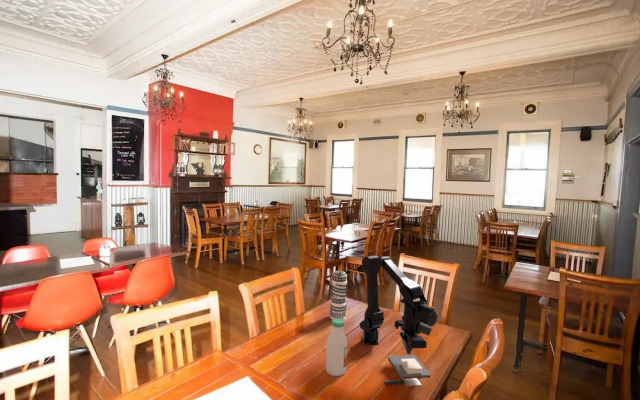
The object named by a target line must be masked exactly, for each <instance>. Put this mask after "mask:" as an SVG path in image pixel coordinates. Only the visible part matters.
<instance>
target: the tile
mask: <svg viewBox="0 0 640 400" xmlns="http://www.w3.org/2000/svg"><path fill="white" fill-rule="evenodd" d="M400 364H401V365H402V367H403V368H404V370H405V371H406V373H407V374H420V373H422V367H421V366H420V365H419V363H418V362H417V361H416V359H415V358H412V359H401V362H400Z"/></svg>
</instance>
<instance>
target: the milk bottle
mask: <svg viewBox="0 0 640 400" xmlns="http://www.w3.org/2000/svg"><path fill="white" fill-rule="evenodd" d="M344 325H345V321H344V320H341V319H331V330H330V333H329V334H328V337H327V341H326V354H325V371H326V373H327V374H328V375H329V376H331V377H341V376H342V375H345V373H346V367H347V348H348V347H347V345H348V343H347V337H346V335H345V331H344Z"/></svg>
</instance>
